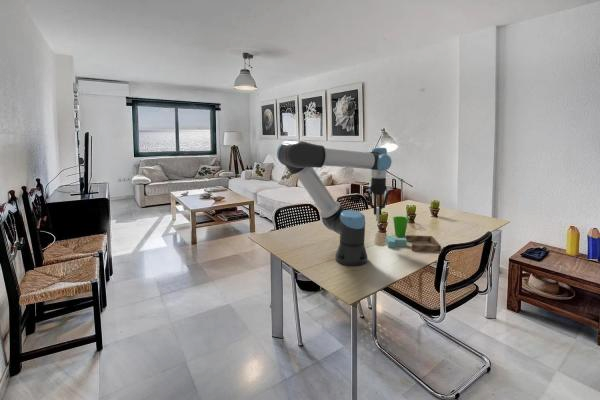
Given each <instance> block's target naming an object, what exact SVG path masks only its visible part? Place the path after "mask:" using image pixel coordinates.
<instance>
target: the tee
mask: <svg viewBox="0 0 600 400" xmlns="http://www.w3.org/2000/svg"><path fill="white" fill-rule="evenodd" d="M407 243H408V241H407V240H406V237H394V236H393V235H385V244H386V247H387V248H388V249H391V248H392V249H395V248H396V247H407V245H408V244H407Z"/></svg>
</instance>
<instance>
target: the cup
mask: <svg viewBox="0 0 600 400" xmlns="http://www.w3.org/2000/svg"><path fill="white" fill-rule="evenodd" d="M392 219H393V225H394V226H393V227H394V232H395V233H394V235H395V238H405V237H406V234H407V233H406V232H407V227H408V223H409V217H407V216H402V215H398V216H394V217H392Z"/></svg>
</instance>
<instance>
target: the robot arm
mask: <svg viewBox="0 0 600 400" xmlns="http://www.w3.org/2000/svg"><path fill="white" fill-rule="evenodd" d="M276 157H277V160H278V161H279V163H280V164H282V165H284V166H285V167H286V169H287V170H288V172H289V173H290V175H292V176H293V175H294V176H296V177H297V179H298V180H299V181H300V184H302V186H303V188H304V189H305V190H306V192H307V193H308V195H309V196H310V197H311V199H312V200H313V202H314V203H315V205H316V206H317V208H318V209H319V210H320V213H319V216H320V217H321V222H322V224H323V225H324V227H326V228H327V229H328V230H330V231H333V232H334V233H337V234H338V235H339V245H338V247H337V251H336V254H335V261H336V262H337V263H339V264H341V265H344V266H350V267H351V266H352V267H353V266H354V267H356V266H357V267H359V266H363V265H365V264H367V263H368V258H369V257H368V254H367V253H368V252H367V249H366V247H365V237H366V236H365V233H366V216H365V215H364V213H362V212H361V211H358V210H354V209H346V210H345V209H344V207H343V205H342V204H341V203H340V201H336V200H335V199H334V197H333V196H332V195H331V193H330V192H329V189H327V187H326V186H325V184H324V183H323V181H322V179H321V178H320V176H319V175H318V173H317V172H316V171H315V169H314V168H318V169H319V168H323V167H326V166H327V167H336V168H337V167H338V168H349V169H350V168H352V169H364V170H365V169H366V170H371V178H370V180H371V181H370V187H369V189H366V190H365V193H366V195H367V197H368V201H369V205H370V206H369V207H370V208H371V209H373V215H374V216H375V221H376V222H380V216H381V215H382V209H385V208H386V205H387V201H388V199H389V198H388V197H389V195H390V194H391V190H390V189H388V188H387V185H386V184H387V178H386V177H387V171H388V170H389V169H390V168H391V166H392V161H393V160H392V158H391V156H390V155H389V154H388V150H387V148H386V147H373V148H372V149H371V151H365V152H364V151H356V150H355V151H354V150H348V149H347V150H344V149H336V148H326V147H325V146H324V145H320V144H314V143H311V142H307V141H303V140H293V139H291V140H285V141H283V142H282V143H281V144H280V145H279V146H278V148H277V151H276ZM371 193H373V200H372V196H371ZM384 193H385V195H384ZM383 195H384V199H383ZM377 202H378V203H377ZM377 205H378V206H377Z"/></svg>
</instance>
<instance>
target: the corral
mask: <svg viewBox="0 0 600 400" xmlns="http://www.w3.org/2000/svg"><path fill="white" fill-rule="evenodd" d="M405 238H406V240H407V242H424V243H425V242H429V243H430V244H419V243H418V244H413V243H412V244H411V249H410V250H411V251H414V252H415V251H416V252H438V253H439V252H441V250H442V249H441V248H442V245H440V243H439V242H438V241H437V240H436V239H435V237H434V236H433V235H413V234H412V235H410V234H408V235H407V234H405Z"/></svg>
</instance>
